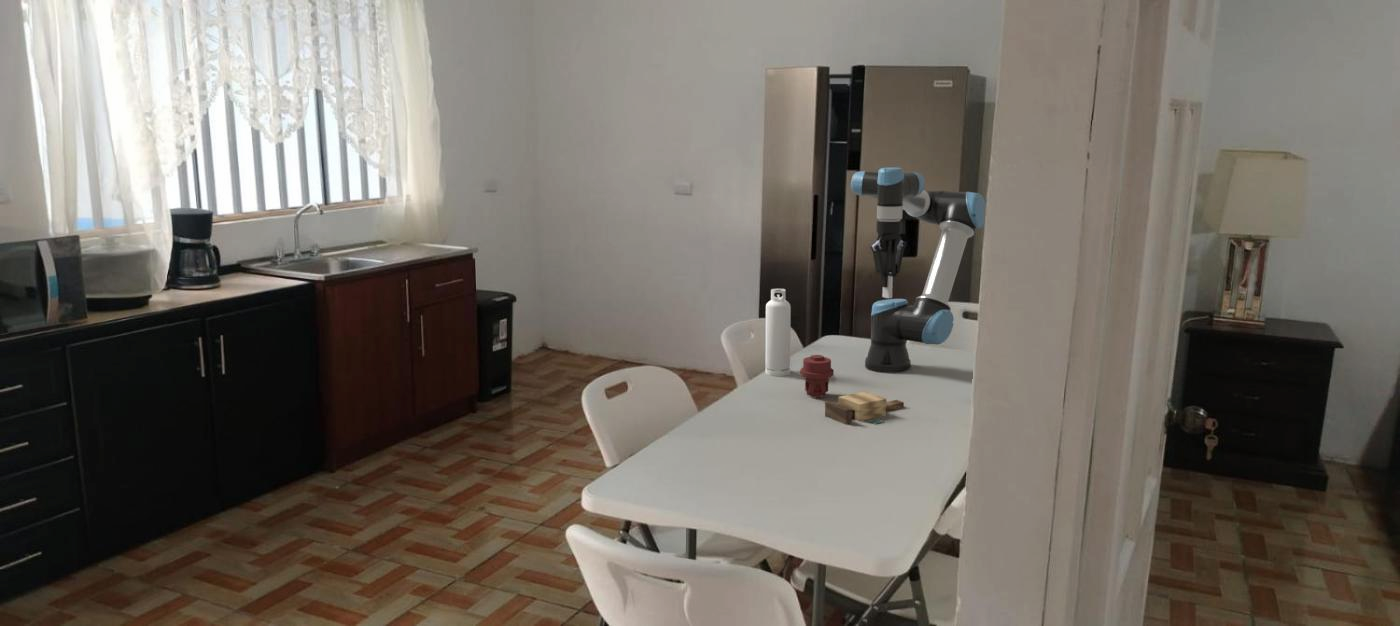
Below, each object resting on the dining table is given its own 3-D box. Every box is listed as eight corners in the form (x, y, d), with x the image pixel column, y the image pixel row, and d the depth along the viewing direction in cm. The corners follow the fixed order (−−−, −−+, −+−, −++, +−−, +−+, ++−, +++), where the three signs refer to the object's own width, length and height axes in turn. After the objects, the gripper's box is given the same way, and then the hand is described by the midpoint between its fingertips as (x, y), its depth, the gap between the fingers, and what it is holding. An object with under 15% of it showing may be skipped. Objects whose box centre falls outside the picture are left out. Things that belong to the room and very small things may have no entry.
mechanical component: (831, 390, 301) (834, 400, 291) (798, 391, 301) (801, 400, 291) (831, 352, 298) (835, 360, 288) (799, 352, 298) (801, 360, 289)
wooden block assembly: (879, 398, 292) (879, 385, 291) (922, 413, 277) (922, 400, 276) (815, 412, 279) (815, 398, 279) (856, 428, 264) (856, 414, 264)
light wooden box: (864, 407, 283) (864, 391, 282) (885, 415, 276) (886, 398, 275) (838, 413, 278) (838, 396, 277) (859, 421, 271) (859, 404, 270)
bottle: (789, 369, 326) (790, 287, 320) (789, 376, 318) (790, 292, 312) (765, 369, 327) (766, 287, 321) (764, 375, 319) (765, 291, 313)
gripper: (896, 217, 297) (894, 293, 302) (864, 220, 290) (862, 297, 295) (914, 219, 291) (911, 297, 295) (881, 222, 284) (879, 301, 288)
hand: (887, 297), depth 295 cm, fingers closed
